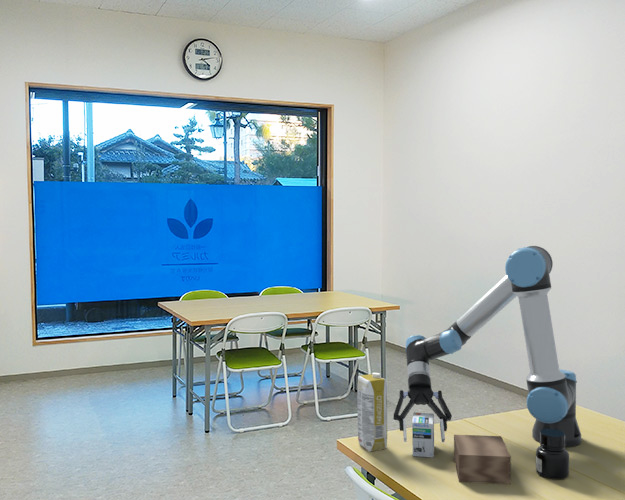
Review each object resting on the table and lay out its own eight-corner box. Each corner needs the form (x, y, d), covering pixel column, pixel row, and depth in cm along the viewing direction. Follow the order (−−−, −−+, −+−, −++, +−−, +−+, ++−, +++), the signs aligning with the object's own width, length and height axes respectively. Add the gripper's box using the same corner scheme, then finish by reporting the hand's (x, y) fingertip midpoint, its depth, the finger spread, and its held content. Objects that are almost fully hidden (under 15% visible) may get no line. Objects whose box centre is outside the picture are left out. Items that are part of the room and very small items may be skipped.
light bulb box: (434, 458, 190) (433, 423, 189) (411, 456, 191) (411, 422, 191) (434, 445, 200) (434, 412, 200) (413, 444, 202) (413, 411, 201)
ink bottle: (542, 464, 184) (542, 424, 183) (573, 471, 178) (573, 431, 178) (530, 475, 177) (531, 434, 176) (562, 483, 171) (562, 441, 170)
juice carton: (390, 449, 197) (389, 375, 196) (368, 453, 194) (367, 378, 193) (376, 439, 206) (375, 368, 205) (355, 443, 203) (354, 371, 202)
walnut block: (501, 462, 187) (501, 436, 186) (510, 485, 171) (510, 456, 171) (453, 460, 189) (453, 434, 188) (458, 482, 173) (458, 454, 173)
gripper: (453, 384, 209) (460, 445, 195) (383, 383, 211) (386, 444, 197) (455, 372, 204) (463, 435, 189) (384, 372, 206) (386, 434, 191)
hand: (424, 440), depth 193 cm, fingers open, 11 cm apart
